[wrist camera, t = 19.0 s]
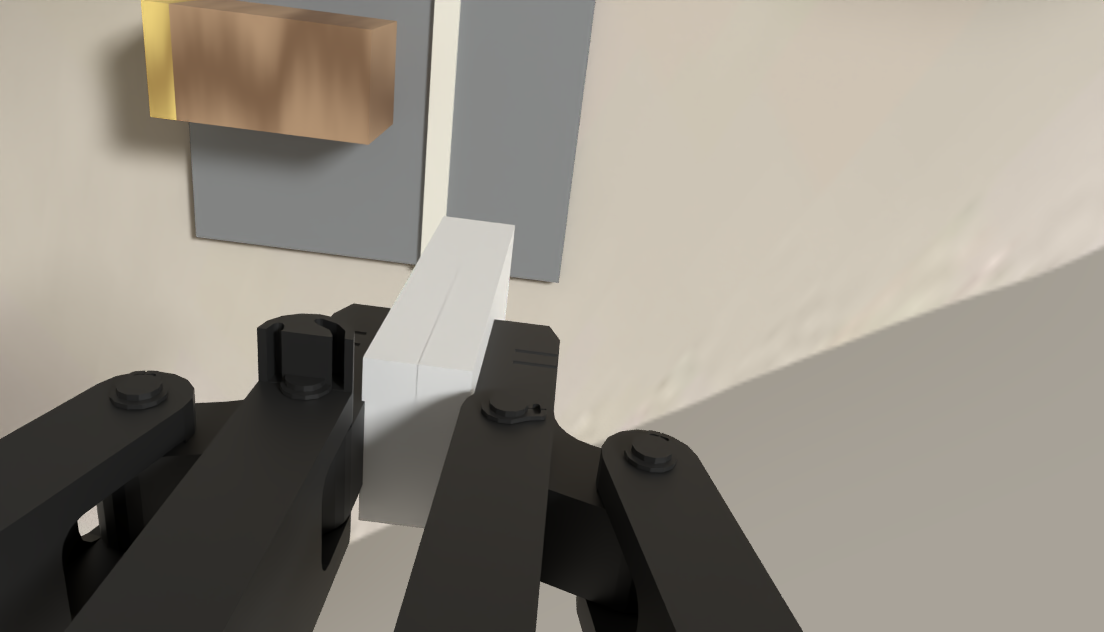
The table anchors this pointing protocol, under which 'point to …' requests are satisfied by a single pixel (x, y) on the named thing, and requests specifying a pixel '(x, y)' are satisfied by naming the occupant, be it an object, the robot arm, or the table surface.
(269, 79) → the block
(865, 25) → the table surface
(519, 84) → the mat
